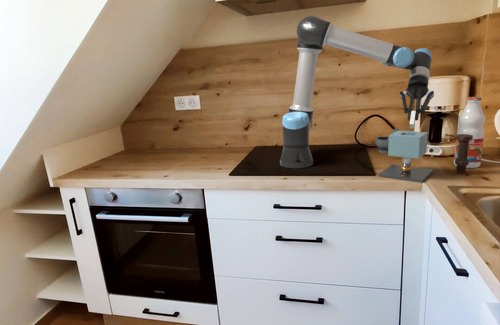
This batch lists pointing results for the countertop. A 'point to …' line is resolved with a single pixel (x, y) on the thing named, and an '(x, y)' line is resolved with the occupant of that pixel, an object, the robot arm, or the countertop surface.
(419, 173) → the pipe stand
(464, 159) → the bolt
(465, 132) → the fruit juice
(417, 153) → the sleeve
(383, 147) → the mortar and pestle
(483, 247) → the countertop surface
